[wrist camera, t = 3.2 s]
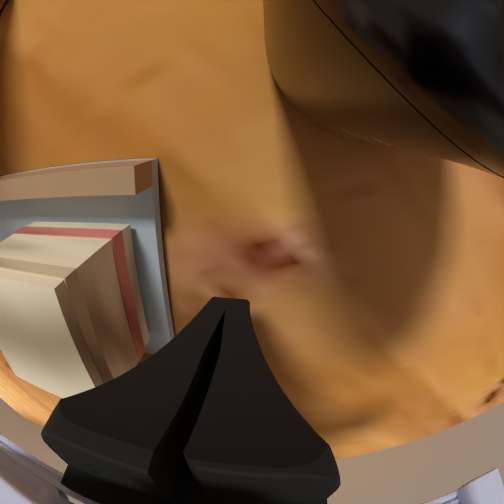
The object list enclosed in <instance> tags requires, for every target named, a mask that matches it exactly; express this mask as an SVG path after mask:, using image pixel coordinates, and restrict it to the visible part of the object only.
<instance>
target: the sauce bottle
mask: <svg viewBox="0 0 504 504" xmlns="http://www.w3.org/2000/svg"><path fill="white" fill-rule="evenodd" d="M5 2H6V0H0V10H1V9H2V7H3V5H4V4H5Z"/></svg>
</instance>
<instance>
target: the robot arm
mask: <svg viewBox="0 0 504 504" xmlns="http://www.w3.org/2000/svg"><path fill="white" fill-rule="evenodd" d="M41 435H42V438H43V440H44V442H45V443H46V444H47V445H48V446H49V447H50V448H51V449H52V450H53V451H54V452H55V453H56V454H57V455H58V456H59V457H60V458H61V459H63V460H64V461H65V462H66V463H67V464H68V466H67V469H66V471H65V473H64V474H63V473H61V472H59V471H58V470H56V469H54V468H52V467H50V466H49V465H47V464H45V463H44V462H42V461H40V460H39V459H37V458H35V457H34V456H32V455H30V454H29V453H27V452H26V451H24V450H23V449H21V448H20V447H18V446H17V445H16V444H14V443H13V442H11V441H10V440H8V439H7V438H6V437H4V436H3V435H2V434H0V504H73V503H71V502H70V501H69V500H68V497H67V495H68V496H71V497H72V498H74V499H76V500H78V501H80V502H82V503H84V504H327V498H328V497H329V496H330V495H332V494H333V493H334V492H335V491H336V490H337V489H338V488H339V486H340V475H339V471H338V467H337V464H336V461H335V458H334V455H333V453H332V450H331V448H330V446H329V445H328V444H327V443H326V442H325V441H324V440H323V439H322V438H321V437H320V436H319V435H318V434H317V433H316V432H315V431H314V430H313V428H312V427H311V426H310V425H309V424H308V423H307V422H306V421H305V419H304V418H303V417H302V416H301V415H300V414H299V412H298V411H297V410H296V408H295V407H294V406H293V404H292V403H291V402H290V400H289V399H288V397H287V396H286V395H285V393H284V392H283V390H282V389H281V387H280V386H279V384H278V382H277V381H276V379H275V377H274V376H273V374H272V372H271V370H270V368H269V366H268V364H267V362H266V360H265V358H264V356H263V353H262V351H261V349H260V346H259V344H258V341H257V338H256V335H255V332H254V329H253V325H252V321H251V317H250V302H249V301H248V300H245V299H232V298H221V297H213V298H211V299H210V300H209V301H208V303H207V304H206V305H205V306H204V307H203V308H202V310H201V311H200V312H199V313H198V314H197V315H196V316H195V317H194V318H193V319H192V320H191V321H190V322H189V323H188V324H187V325H186V326H185V328H184V329H183V330H181V331H180V332H179V333H178V334H177V335H176V336H175V337H174V338H173V339H172V340H170V341H169V342H168V343H167V344H166V345H165V346H163V347H162V348H161V349H160V350H159V351H157V352H156V353H155V354H153V355H152V356H150V357H149V358H148V359H146V360H145V361H143V362H142V363H140V364H139V365H137V366H136V367H134V368H132V369H130V370H129V371H127V372H125V373H124V374H122V375H120V376H118V377H116V378H114V379H112V380H110V381H108V382H106V383H104V384H102V385H99V386H97V387H95V388H92V389H90V390H87V391H84V392H81V393H78V394H75V395H72V396H69V397H66V398H63V399H61V400H60V401H59V402H58V404H57V406H56V407H55V409H54V410H53V412H52V414H51V416H50V417H49V419H48V421H47V423H46V425H45V426H44V428H43V430H42V432H41ZM66 494H67V495H66ZM423 504H504V487H503V483H502V480H501V477H500V474H499V471H498V469H497V468H494V469H492V470H491V471H489V472H487V473H485V474H483V475H481V476H479V477H477V478H475V479H473V480H471V481H470V482H468V483H466V484H465V485H463V486H462V487H460V488H459V489H458V490H457V491H454V492H452V493H450V494H447V495H445V496H442V497H440V498H437V499H434V500H431V501H429V502H426V503H423Z"/></svg>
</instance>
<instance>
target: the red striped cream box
mask: <svg viewBox="0 0 504 504" xmlns="http://www.w3.org/2000/svg"><path fill="white" fill-rule="evenodd" d="M149 339H150V336H149V332H148V327H147V323H146V318H145V313H144V309H143V304H142V298H141V293H140V288H139V282H138V276H137V270H136V264H135V257H134V250H133V243H132V235H131V227H130V224H113V223H79V222H33V223H31V224H30V225H28V226H24V227H22V228H20V229H18V230H17V231H15V232H13V235H11V236H9V237H8V238H6V239H5V240H3V241H1V242H0V349H1V351H2V353H3V355H4V356H5V358H6V360H7V362H8V363H9V365H10V366H11V368H12V370H13V371H14V373H15V374H16V376H18V377H19V378H21V379H23V380H25V381H27V382H29V383H31V384H33V385H35V386H37V387H39V388H41V389H43V390H45V391H47V392H50V393H52V394H54V395H56V396H59V397H61V398H66V397H69V396H72V395H75V394H78V393H81V392H84V391H87V390H90V389H92V388H95V387H97V386H99V385H102V384H104V383H106V382H108V381H110V380H112V379H114V378H116V377H118V376H120V375H122V374H124V373H125V372H127V371H129V370H130V369H132V368H134V367H136V365H137V363H138V361H140V360H141V358H142V356H143V354H144V352H145V350H146V349H145V347H146V345H147V343H148V341H149Z"/></svg>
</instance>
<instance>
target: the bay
mask: <svg viewBox="0 0 504 504" xmlns="http://www.w3.org/2000/svg"><path fill="white" fill-rule="evenodd" d="M33 222H79V223H113V224H130V227H131V235H132V243H133V250H134V257H135V264H136V270H137V276H138V282H139V288H140V293H141V298H142V304H143V309H144V313H145V318H146V323H147V327H148V332H149V336H150V339H149V341H148V343H147V345H146V347H145V349H146V350H145V352H144V354H143V356H142V358H141V360H140V361H138V363H137V365H139V364H140V363H142V362H143V361H145V360H146V359H148V358H149V357H150V356H152V355H153V354H155V353H156V352H157V351H159V350H160V349H161V348H162V347H163V346H165V345H166V344H167V343H168V342H169V341H170V340H172V339H173V338H174V337H175V336H174V330H173V324H172V317H171V311H170V304H169V297H168V289H167V281H166V273H165V264H164V254H163V243H162V232H161V219H160V203H159V184H158V158H149V159H129V160H115V161H103V162H92V163H82V164H73V165H65V166H58V167H50V168H44V169H37V170H31V171H25V172H20V173H14V174H9V175H4V176H0V242H1V241H3V240H5V239H6V238H8V237H9V236H11V235H13V232H15V231H17V230H18V229H20V228H22V227H24V226H28V225H30V224H31V223H33ZM137 365H136V366H137Z"/></svg>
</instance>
